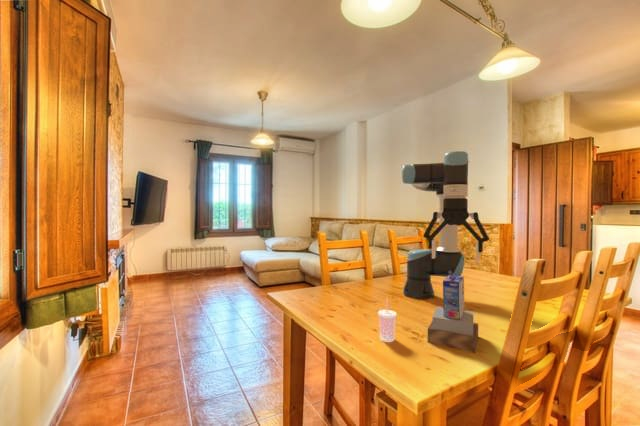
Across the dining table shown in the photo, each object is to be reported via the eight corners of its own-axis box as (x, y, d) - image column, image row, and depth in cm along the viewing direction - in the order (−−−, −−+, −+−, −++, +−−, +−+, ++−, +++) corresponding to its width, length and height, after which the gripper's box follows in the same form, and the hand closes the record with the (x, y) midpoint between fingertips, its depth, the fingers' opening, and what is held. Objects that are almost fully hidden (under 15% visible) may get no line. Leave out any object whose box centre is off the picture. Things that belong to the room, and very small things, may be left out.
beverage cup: (391, 344, 96) (391, 301, 96) (374, 339, 100) (374, 298, 100) (399, 338, 101) (399, 297, 100) (383, 333, 105) (383, 294, 104)
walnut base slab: (427, 343, 98) (427, 328, 98) (435, 329, 110) (435, 315, 110) (474, 354, 91) (475, 338, 91) (478, 337, 103) (478, 323, 103)
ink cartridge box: (447, 308, 106) (448, 268, 106) (464, 311, 103) (465, 270, 103) (441, 316, 98) (442, 273, 98) (460, 320, 95) (460, 275, 95)
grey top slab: (432, 329, 98) (432, 317, 98) (436, 317, 108) (436, 306, 108) (473, 336, 92) (473, 323, 92) (473, 323, 103) (473, 311, 103)
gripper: (415, 198, 104) (414, 258, 104) (497, 196, 91) (496, 265, 91) (420, 198, 110) (419, 255, 111) (498, 197, 97) (497, 262, 97)
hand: (454, 260), depth 101 cm, fingers open, 13 cm apart
